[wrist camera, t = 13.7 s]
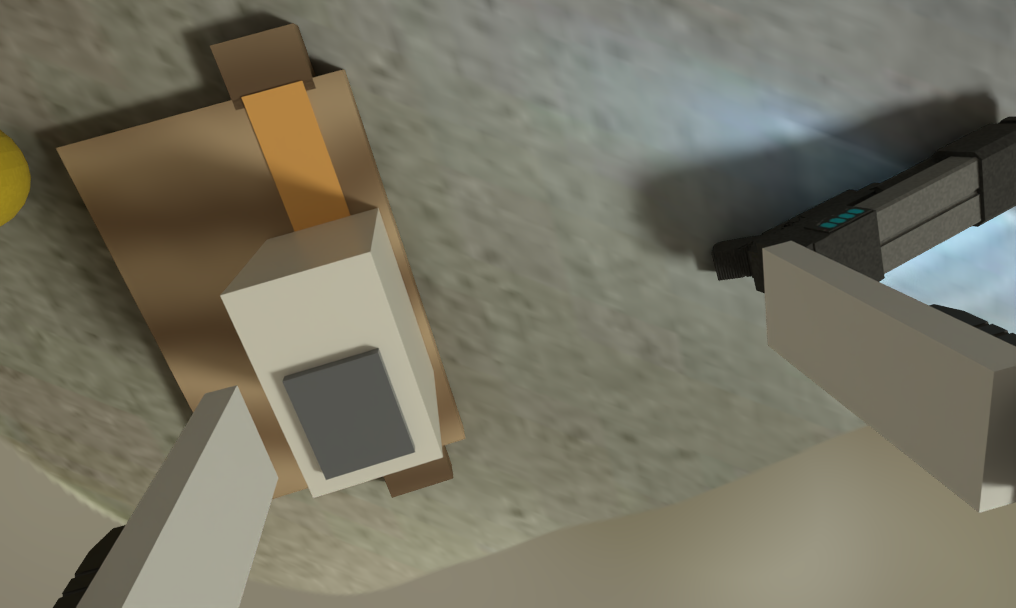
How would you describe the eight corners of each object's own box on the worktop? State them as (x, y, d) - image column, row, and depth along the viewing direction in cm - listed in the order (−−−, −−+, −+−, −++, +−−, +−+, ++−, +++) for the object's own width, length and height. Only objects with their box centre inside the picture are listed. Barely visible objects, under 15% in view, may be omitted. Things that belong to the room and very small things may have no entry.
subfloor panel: (45, 93, 30) (26, 94, 29) (327, 17, 31) (323, 14, 29) (263, 523, 40) (258, 540, 39) (473, 457, 41) (476, 471, 39)
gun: (692, 234, 38) (847, 254, 29) (895, 116, 44) (1069, 104, 36) (708, 299, 39) (859, 336, 31) (901, 176, 46) (1069, 178, 37)
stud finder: (266, 239, 33) (216, 299, 24) (378, 207, 33) (369, 254, 24) (333, 401, 36) (311, 505, 27) (433, 370, 37) (443, 463, 28)
